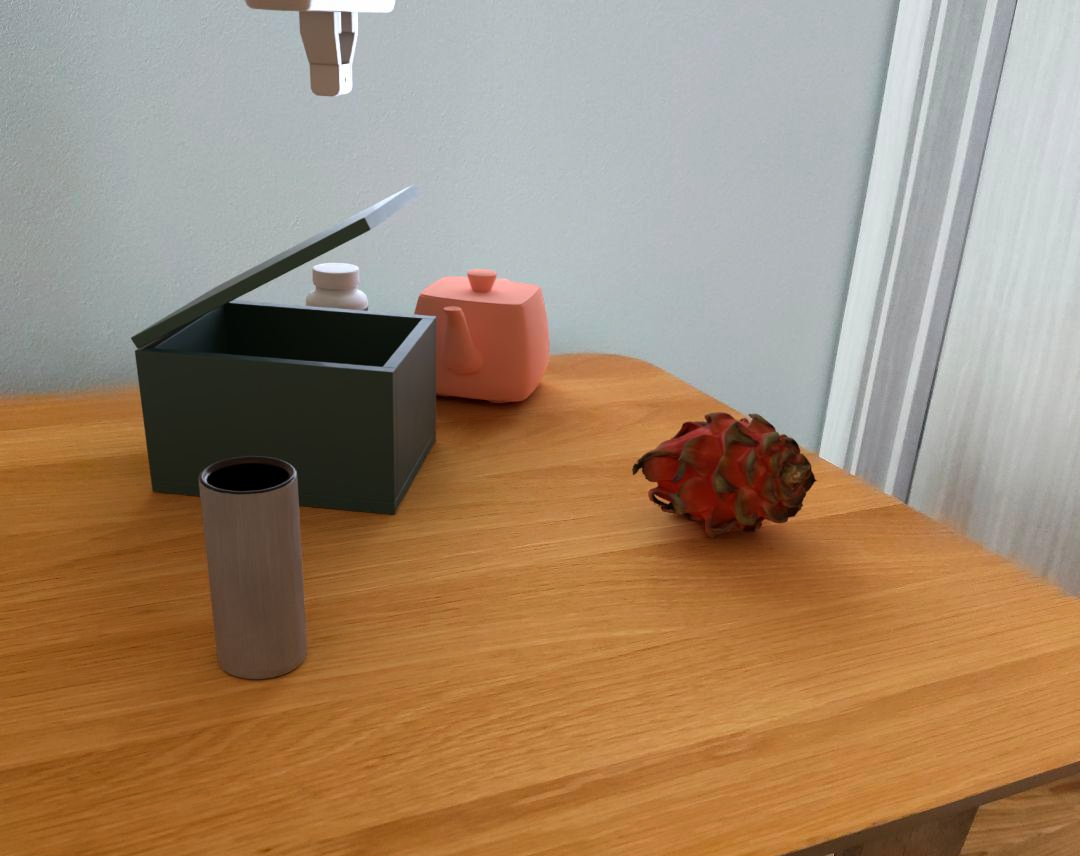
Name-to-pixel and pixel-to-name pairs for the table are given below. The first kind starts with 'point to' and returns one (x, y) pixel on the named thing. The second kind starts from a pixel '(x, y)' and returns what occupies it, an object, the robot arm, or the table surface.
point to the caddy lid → (278, 265)
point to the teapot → (487, 336)
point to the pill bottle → (337, 287)
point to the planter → (254, 565)
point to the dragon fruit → (729, 473)
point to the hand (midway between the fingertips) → (332, 94)
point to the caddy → (294, 399)
